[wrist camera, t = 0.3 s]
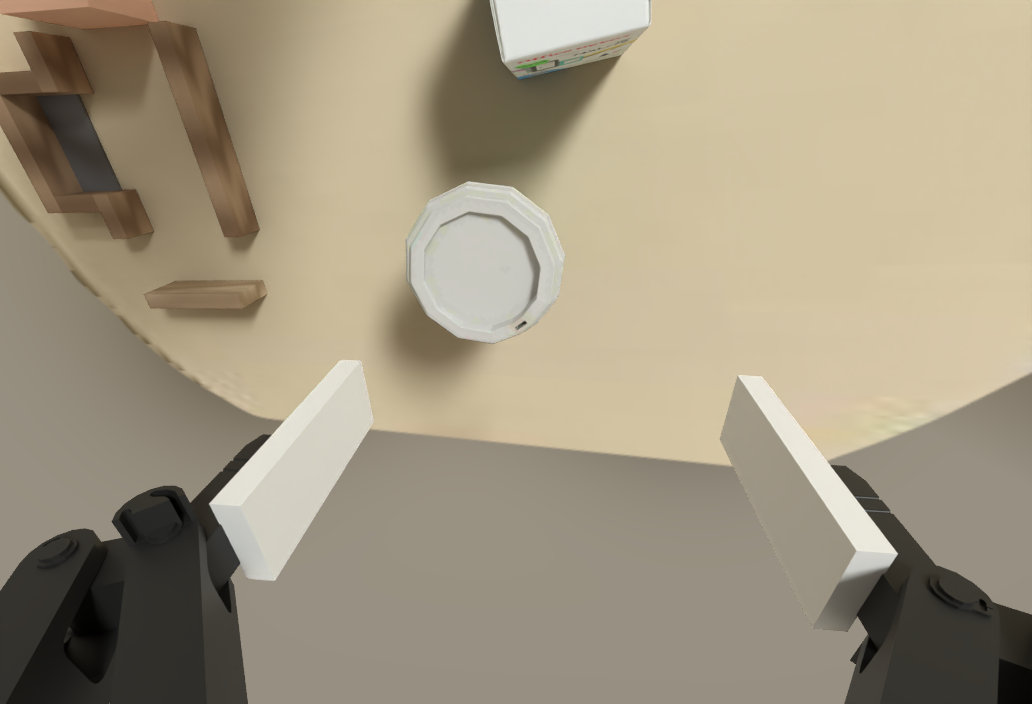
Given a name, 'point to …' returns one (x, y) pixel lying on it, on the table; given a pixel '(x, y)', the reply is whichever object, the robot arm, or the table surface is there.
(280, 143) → the table surface
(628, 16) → the ink box
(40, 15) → the block
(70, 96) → the open wooden frame
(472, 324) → the disposable coffee cup
